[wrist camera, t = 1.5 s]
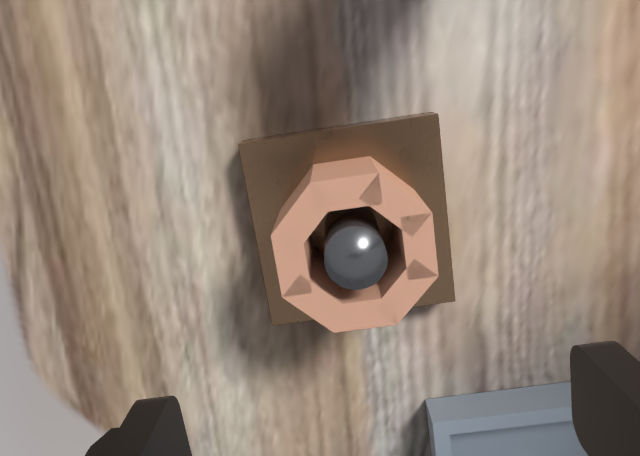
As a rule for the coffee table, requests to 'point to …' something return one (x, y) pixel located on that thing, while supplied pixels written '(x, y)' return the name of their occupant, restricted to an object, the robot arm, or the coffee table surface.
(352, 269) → the brown square stand
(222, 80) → the coffee table surface
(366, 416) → the coffee table surface
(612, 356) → the robot arm
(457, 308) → the coffee table surface
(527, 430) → the tray
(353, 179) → the ring
